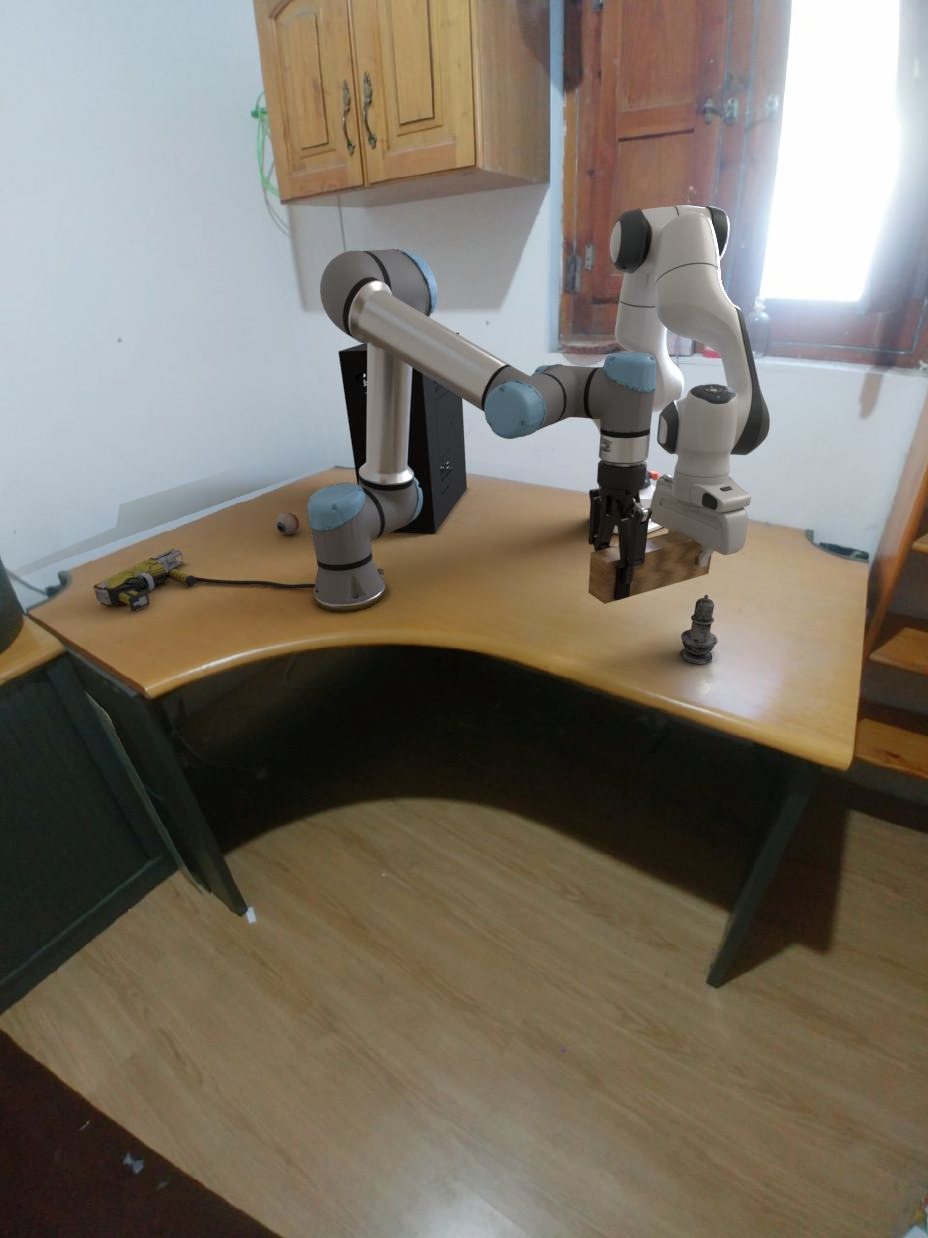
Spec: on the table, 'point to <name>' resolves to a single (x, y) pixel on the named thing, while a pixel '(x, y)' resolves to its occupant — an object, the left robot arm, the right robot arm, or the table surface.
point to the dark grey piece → (699, 634)
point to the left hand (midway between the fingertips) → (611, 591)
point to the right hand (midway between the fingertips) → (688, 559)
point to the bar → (647, 566)
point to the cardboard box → (415, 438)
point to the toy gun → (141, 581)
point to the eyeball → (287, 523)
